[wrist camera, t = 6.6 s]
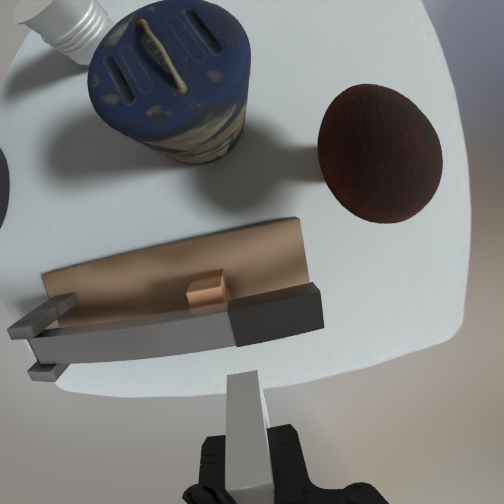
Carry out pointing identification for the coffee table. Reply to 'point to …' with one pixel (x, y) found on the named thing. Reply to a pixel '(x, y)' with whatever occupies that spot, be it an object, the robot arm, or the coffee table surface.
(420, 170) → the decorative mushroom
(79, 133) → the coffee table surface
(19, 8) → the white ribbed cylinder
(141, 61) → the canister
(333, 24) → the coffee table surface
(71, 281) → the base
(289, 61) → the coffee table surface
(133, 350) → the lever
